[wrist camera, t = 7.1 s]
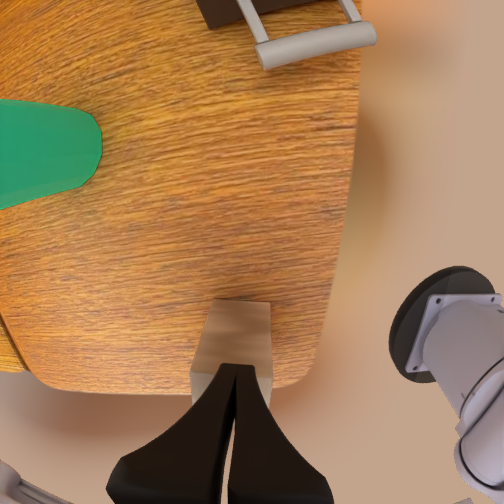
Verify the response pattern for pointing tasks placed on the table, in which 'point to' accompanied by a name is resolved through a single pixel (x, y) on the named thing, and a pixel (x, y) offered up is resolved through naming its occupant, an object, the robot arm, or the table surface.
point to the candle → (44, 150)
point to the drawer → (294, 46)
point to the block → (234, 344)
